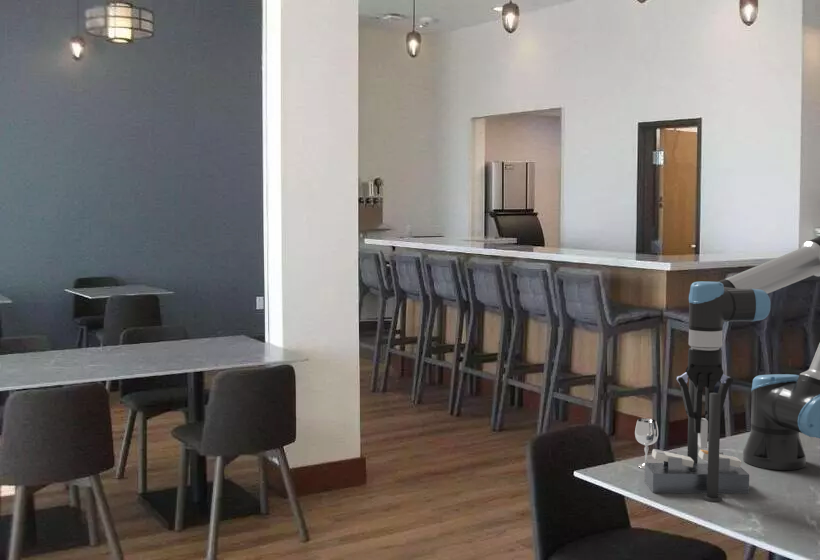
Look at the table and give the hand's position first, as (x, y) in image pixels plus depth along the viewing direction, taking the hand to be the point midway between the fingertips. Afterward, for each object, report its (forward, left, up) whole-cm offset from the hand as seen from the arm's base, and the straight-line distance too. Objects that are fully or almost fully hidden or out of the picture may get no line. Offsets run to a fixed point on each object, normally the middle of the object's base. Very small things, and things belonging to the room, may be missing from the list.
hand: (702, 446), depth 214 cm
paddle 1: (+7, 0, -3) cm, 7 cm away
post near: (0, +9, -10) cm, 13 cm away
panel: (+1, 0, -10) cm, 10 cm away
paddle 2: (-4, 0, -3) cm, 5 cm away
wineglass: (+9, -17, -10) cm, 22 cm away
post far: (0, -9, -10) cm, 13 cm away
